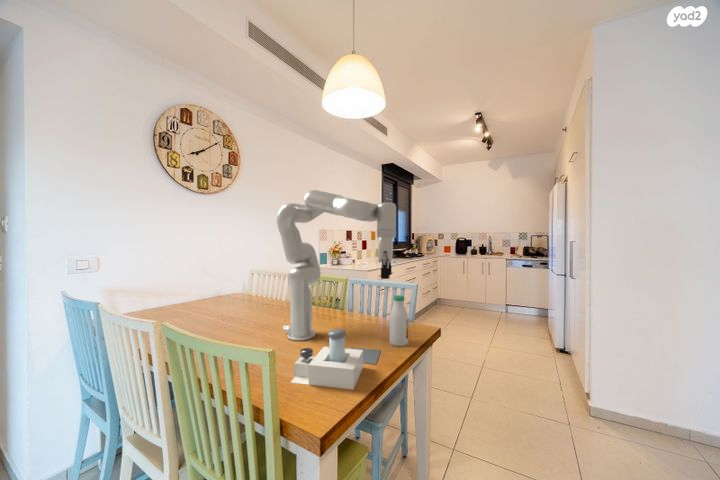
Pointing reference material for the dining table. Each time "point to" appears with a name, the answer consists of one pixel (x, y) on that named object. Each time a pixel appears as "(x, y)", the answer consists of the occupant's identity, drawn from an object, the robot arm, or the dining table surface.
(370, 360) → the mat
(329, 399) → the dining table surface
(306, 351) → the plunger
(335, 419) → the dining table surface
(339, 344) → the cartridge
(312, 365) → the housing
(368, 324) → the dining table surface
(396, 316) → the milk bottle
